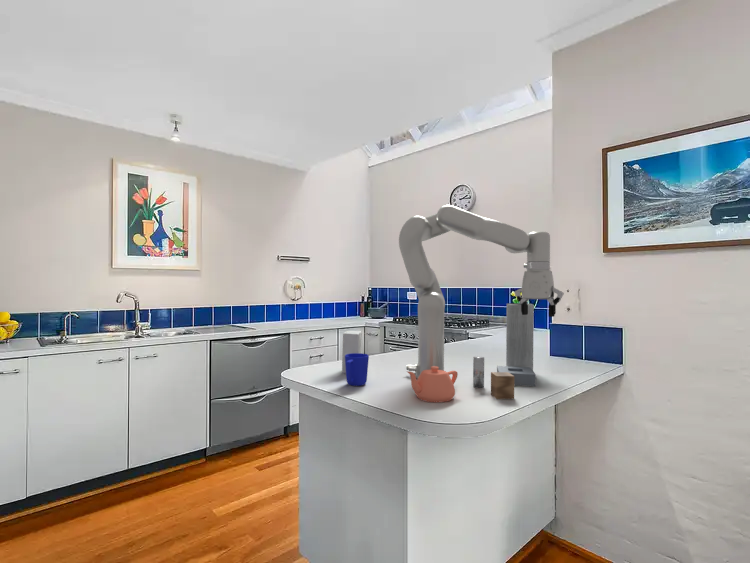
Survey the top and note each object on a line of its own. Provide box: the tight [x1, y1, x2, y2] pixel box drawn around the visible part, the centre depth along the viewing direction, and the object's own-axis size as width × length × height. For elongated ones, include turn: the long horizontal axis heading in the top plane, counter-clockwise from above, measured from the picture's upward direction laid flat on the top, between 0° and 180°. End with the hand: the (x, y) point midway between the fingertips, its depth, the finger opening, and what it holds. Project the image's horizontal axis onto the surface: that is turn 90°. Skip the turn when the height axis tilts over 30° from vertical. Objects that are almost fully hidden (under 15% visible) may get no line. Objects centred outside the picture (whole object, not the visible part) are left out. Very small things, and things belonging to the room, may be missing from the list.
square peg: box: [490, 371, 515, 400], centre depth 128 cm, size 6×6×7 cm
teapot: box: [406, 366, 459, 403], centre depth 126 cm, size 12×18×10 cm
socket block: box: [496, 365, 537, 387], centre depth 148 cm, size 12×12×4 cm
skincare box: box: [341, 330, 363, 374], centre depth 162 cm, size 8×7×16 cm
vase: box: [505, 302, 535, 371], centre depth 162 cm, size 10×10×27 cm
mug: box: [345, 352, 370, 387], centre depth 140 cm, size 8×12×10 cm
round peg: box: [472, 355, 485, 389], centre depth 140 cm, size 4×4×10 cm
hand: (537, 315), depth 146 cm, fingers open, 9 cm apart
